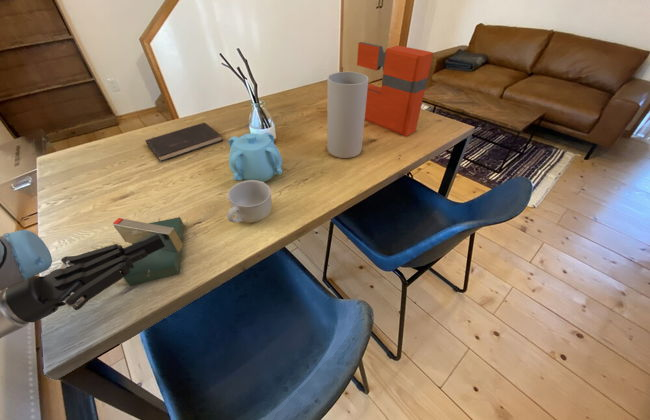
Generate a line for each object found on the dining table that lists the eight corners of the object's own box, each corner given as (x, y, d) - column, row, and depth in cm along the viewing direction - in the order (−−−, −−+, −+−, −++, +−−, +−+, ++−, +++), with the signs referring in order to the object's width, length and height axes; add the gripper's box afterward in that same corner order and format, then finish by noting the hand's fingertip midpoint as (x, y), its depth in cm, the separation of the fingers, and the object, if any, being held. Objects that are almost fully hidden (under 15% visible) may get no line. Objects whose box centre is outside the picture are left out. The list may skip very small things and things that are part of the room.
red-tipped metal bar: (183, 245, 63) (173, 226, 59) (178, 252, 62) (167, 233, 58) (131, 235, 66) (118, 217, 62) (125, 242, 64) (111, 223, 60)
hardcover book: (222, 140, 107) (221, 135, 105) (160, 162, 95) (158, 156, 94) (205, 126, 115) (203, 121, 114) (147, 145, 104) (144, 139, 103)
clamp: (354, 105, 132) (359, 36, 113) (418, 129, 113) (437, 51, 94) (340, 111, 127) (343, 40, 108) (405, 136, 108) (422, 56, 89)
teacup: (255, 197, 81) (250, 174, 76) (282, 211, 76) (279, 188, 71) (216, 224, 73) (208, 201, 67) (244, 242, 68) (237, 219, 63)
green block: (198, 273, 61) (193, 264, 59) (107, 295, 58) (98, 286, 55) (200, 219, 74) (196, 210, 72) (125, 234, 70) (119, 225, 68)
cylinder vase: (367, 148, 102) (375, 76, 85) (349, 163, 94) (354, 87, 78) (339, 138, 107) (342, 69, 90) (320, 152, 100) (319, 79, 83)
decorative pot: (282, 158, 97) (277, 121, 88) (284, 185, 85) (279, 146, 76) (235, 162, 95) (225, 125, 86) (230, 190, 83) (218, 150, 74)
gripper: (34, 291, 54) (160, 235, 65) (35, 344, 46) (177, 270, 57) (3, 268, 49) (146, 211, 60) (-1, 323, 41) (163, 247, 52)
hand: (161, 240), depth 59 cm, fingers closed
